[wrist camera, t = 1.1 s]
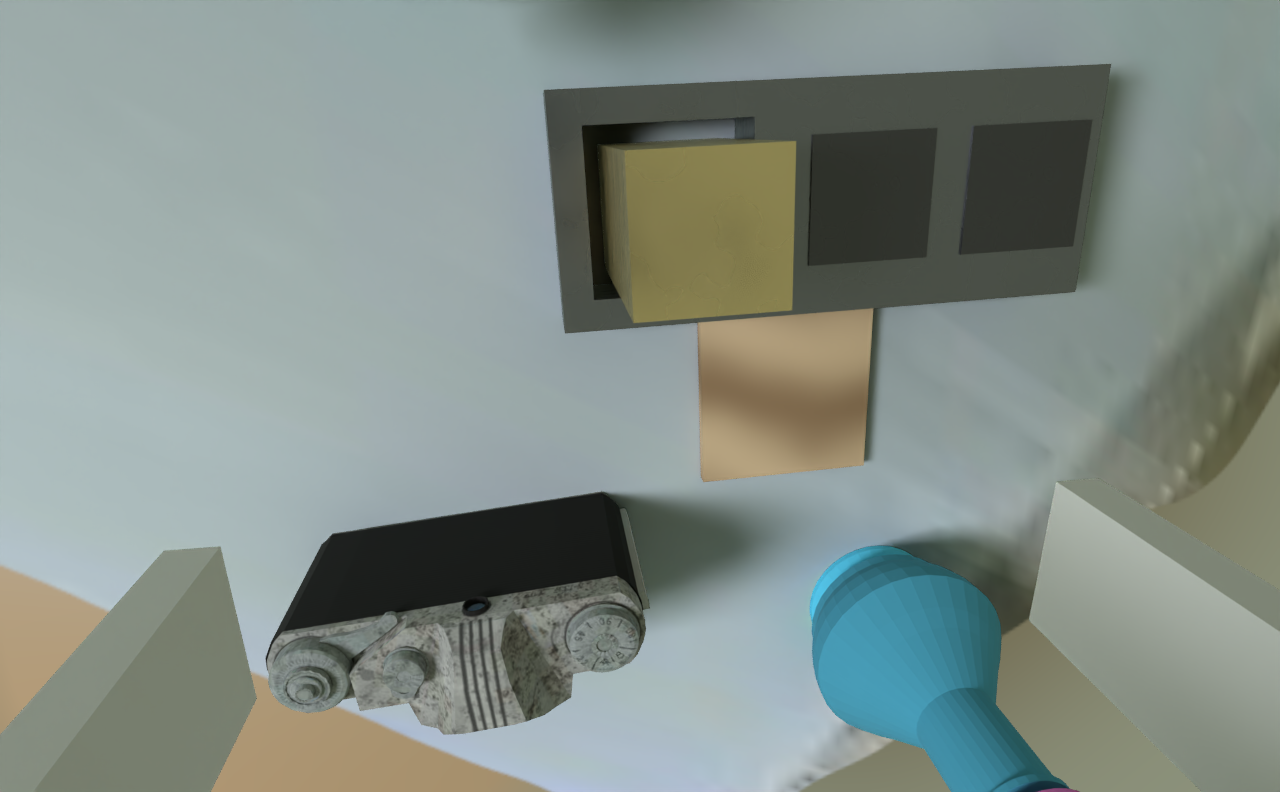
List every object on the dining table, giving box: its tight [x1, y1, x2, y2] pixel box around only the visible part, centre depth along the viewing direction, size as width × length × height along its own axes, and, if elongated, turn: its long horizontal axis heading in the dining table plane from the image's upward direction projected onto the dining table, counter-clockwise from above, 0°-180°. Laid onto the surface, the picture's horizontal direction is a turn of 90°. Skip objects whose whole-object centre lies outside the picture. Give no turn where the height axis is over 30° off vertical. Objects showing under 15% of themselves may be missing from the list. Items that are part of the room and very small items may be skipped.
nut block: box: [597, 138, 796, 323], centre depth 26 cm, size 5×5×10 cm
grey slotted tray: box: [543, 64, 1111, 333], centre depth 30 cm, size 9×22×3 cm, turn 93°
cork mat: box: [698, 308, 873, 482], centre depth 34 cm, size 8×8×1 cm
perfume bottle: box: [810, 546, 1079, 792], centre depth 33 cm, size 9×9×15 cm
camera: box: [266, 492, 650, 735], centre depth 31 cm, size 15×7×10 cm, turn 96°
